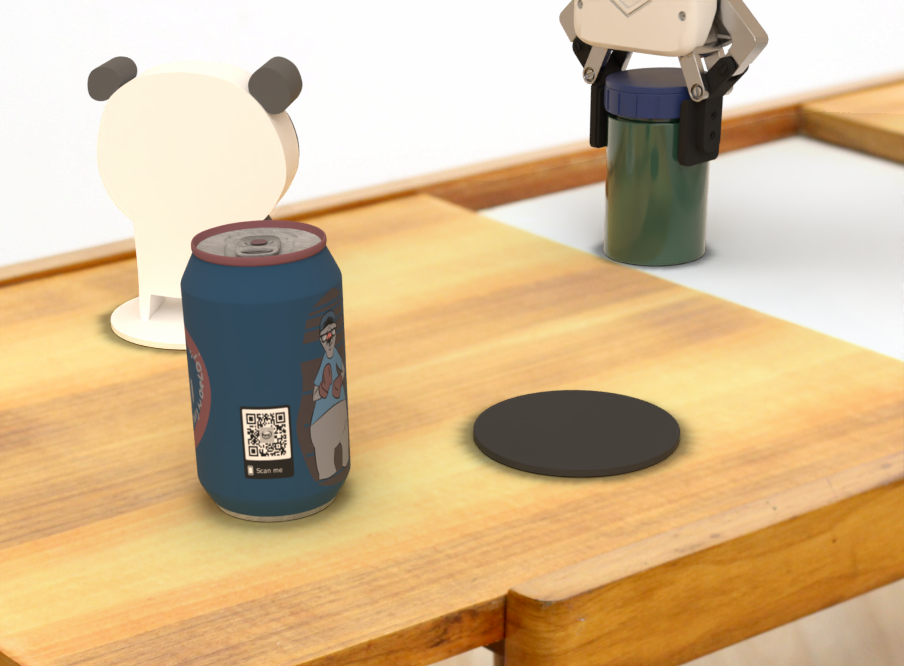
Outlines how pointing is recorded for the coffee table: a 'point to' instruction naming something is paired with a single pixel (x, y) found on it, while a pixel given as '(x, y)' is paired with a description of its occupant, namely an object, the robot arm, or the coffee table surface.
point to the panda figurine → (189, 167)
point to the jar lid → (646, 93)
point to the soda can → (267, 368)
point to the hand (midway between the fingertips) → (652, 150)
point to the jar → (652, 195)
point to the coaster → (576, 433)
